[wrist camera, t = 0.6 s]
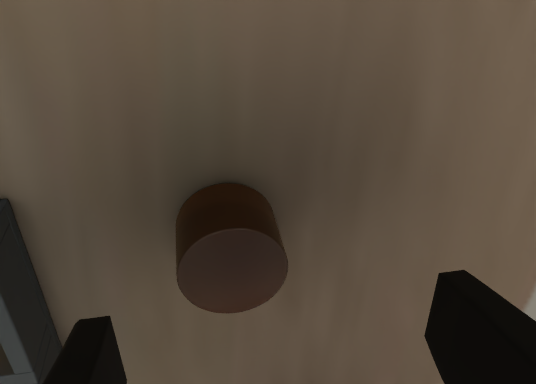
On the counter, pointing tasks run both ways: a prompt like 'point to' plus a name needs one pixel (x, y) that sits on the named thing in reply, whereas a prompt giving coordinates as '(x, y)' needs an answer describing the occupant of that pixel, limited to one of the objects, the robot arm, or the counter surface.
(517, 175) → the counter surface
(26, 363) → the grid
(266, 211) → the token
